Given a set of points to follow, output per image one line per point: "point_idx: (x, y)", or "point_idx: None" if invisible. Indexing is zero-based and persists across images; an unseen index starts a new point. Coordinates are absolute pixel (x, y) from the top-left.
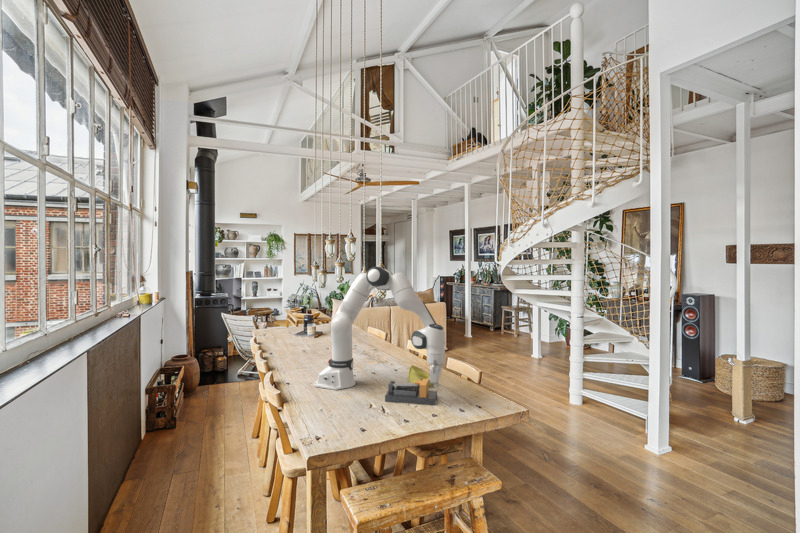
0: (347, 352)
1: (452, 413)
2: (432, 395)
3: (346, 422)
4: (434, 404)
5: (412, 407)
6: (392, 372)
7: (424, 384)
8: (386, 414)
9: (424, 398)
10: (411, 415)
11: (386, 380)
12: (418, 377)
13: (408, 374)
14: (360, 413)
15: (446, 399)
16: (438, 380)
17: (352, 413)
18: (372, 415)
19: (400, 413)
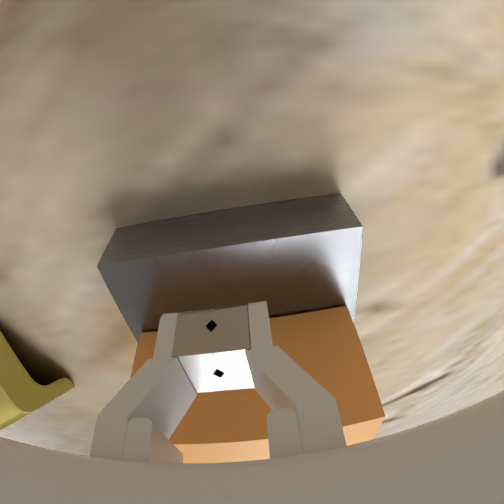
0: None
1: (472, 20)
2: (254, 274)
3: (491, 395)
4: (342, 198)
5: (398, 316)
6: (15, 434)
7: (352, 432)
8: (467, 360)
9: (354, 309)
10: (498, 279)
11: (86, 448)
12: (1, 401)
13: (9, 424)
14: (442, 408)
15: (128, 126)
16: (140, 386)
17: (438, 418)
18: (465, 383)
19: (468, 328)
